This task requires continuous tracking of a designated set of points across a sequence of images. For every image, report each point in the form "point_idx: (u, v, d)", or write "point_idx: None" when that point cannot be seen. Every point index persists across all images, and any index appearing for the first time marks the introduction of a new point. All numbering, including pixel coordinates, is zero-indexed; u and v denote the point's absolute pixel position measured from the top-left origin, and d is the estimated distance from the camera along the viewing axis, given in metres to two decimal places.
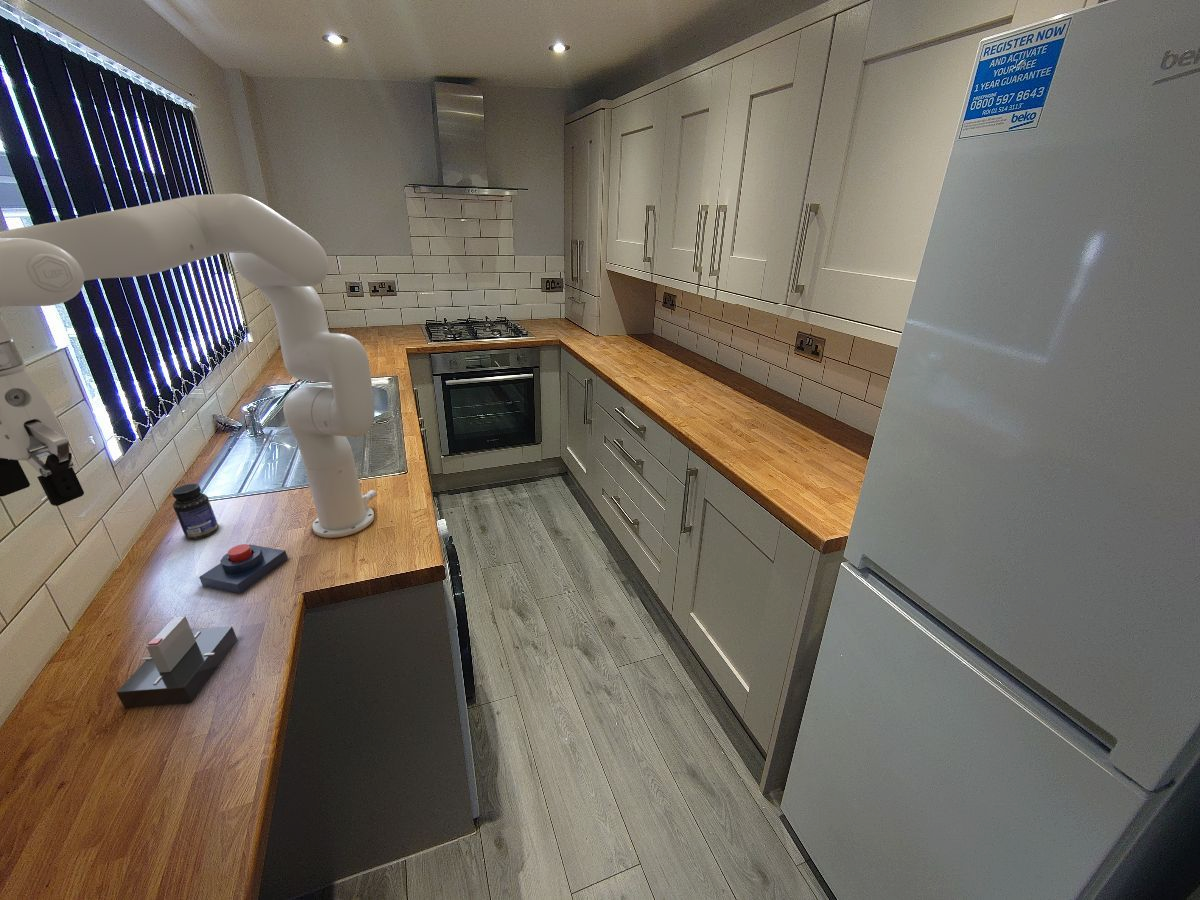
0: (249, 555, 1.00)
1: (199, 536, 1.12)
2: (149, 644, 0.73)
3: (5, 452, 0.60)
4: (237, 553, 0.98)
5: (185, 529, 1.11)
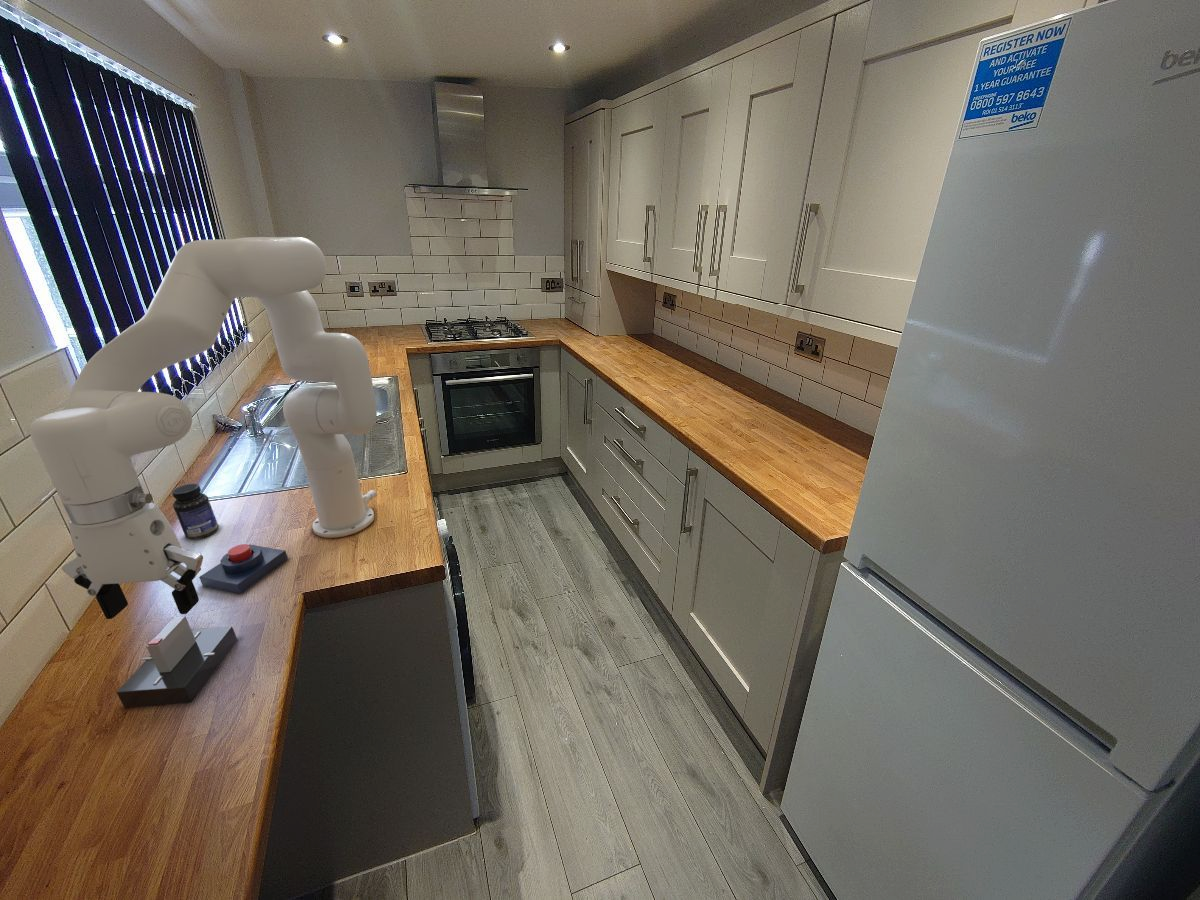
0: (249, 555, 1.00)
1: (199, 536, 1.12)
2: (149, 644, 0.73)
3: (143, 577, 0.69)
4: (237, 553, 0.98)
5: (186, 529, 1.11)
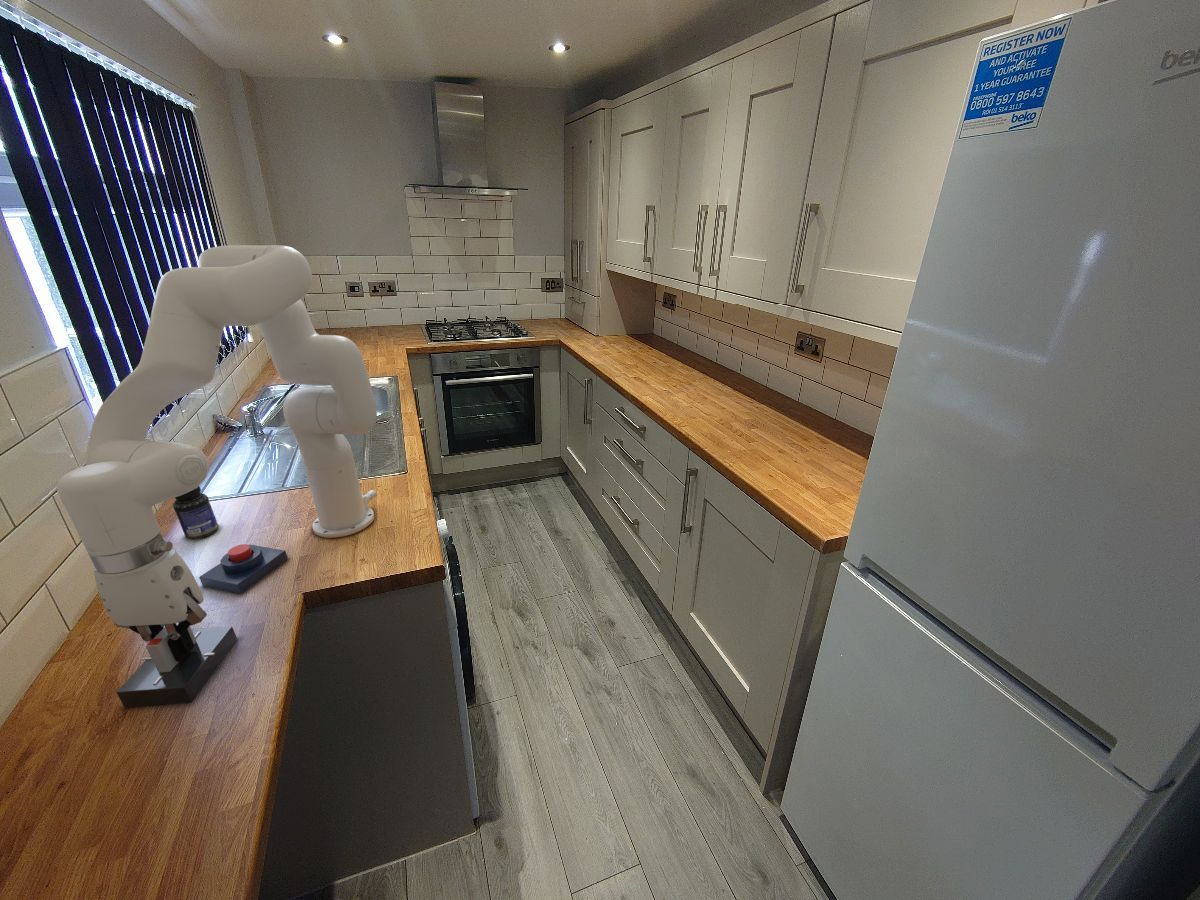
0: (249, 555, 1.00)
1: (199, 536, 1.12)
2: (149, 644, 0.73)
3: (164, 619, 0.73)
4: (237, 553, 0.98)
5: (185, 529, 1.11)
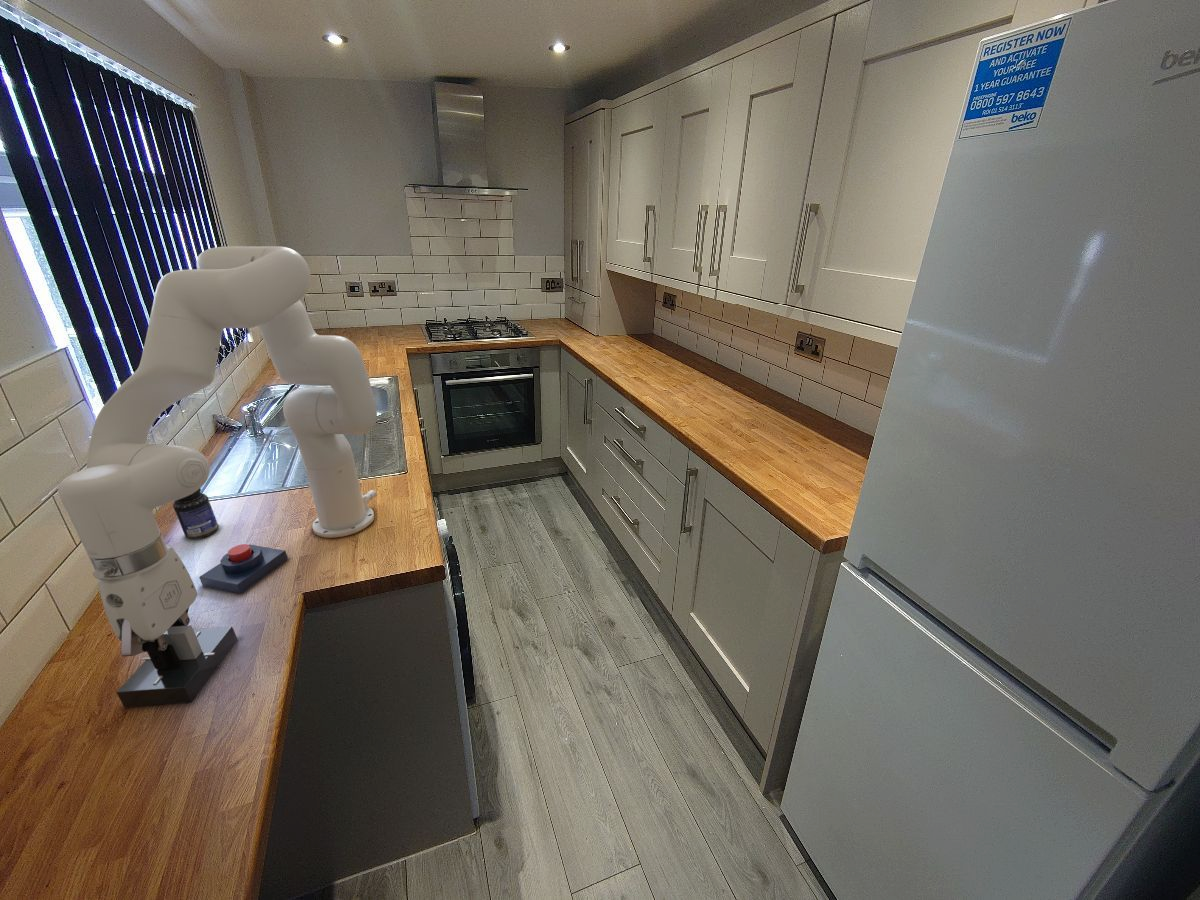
0: (249, 555, 1.00)
1: (199, 536, 1.12)
2: None
3: None
4: (237, 553, 0.98)
5: (185, 529, 1.11)
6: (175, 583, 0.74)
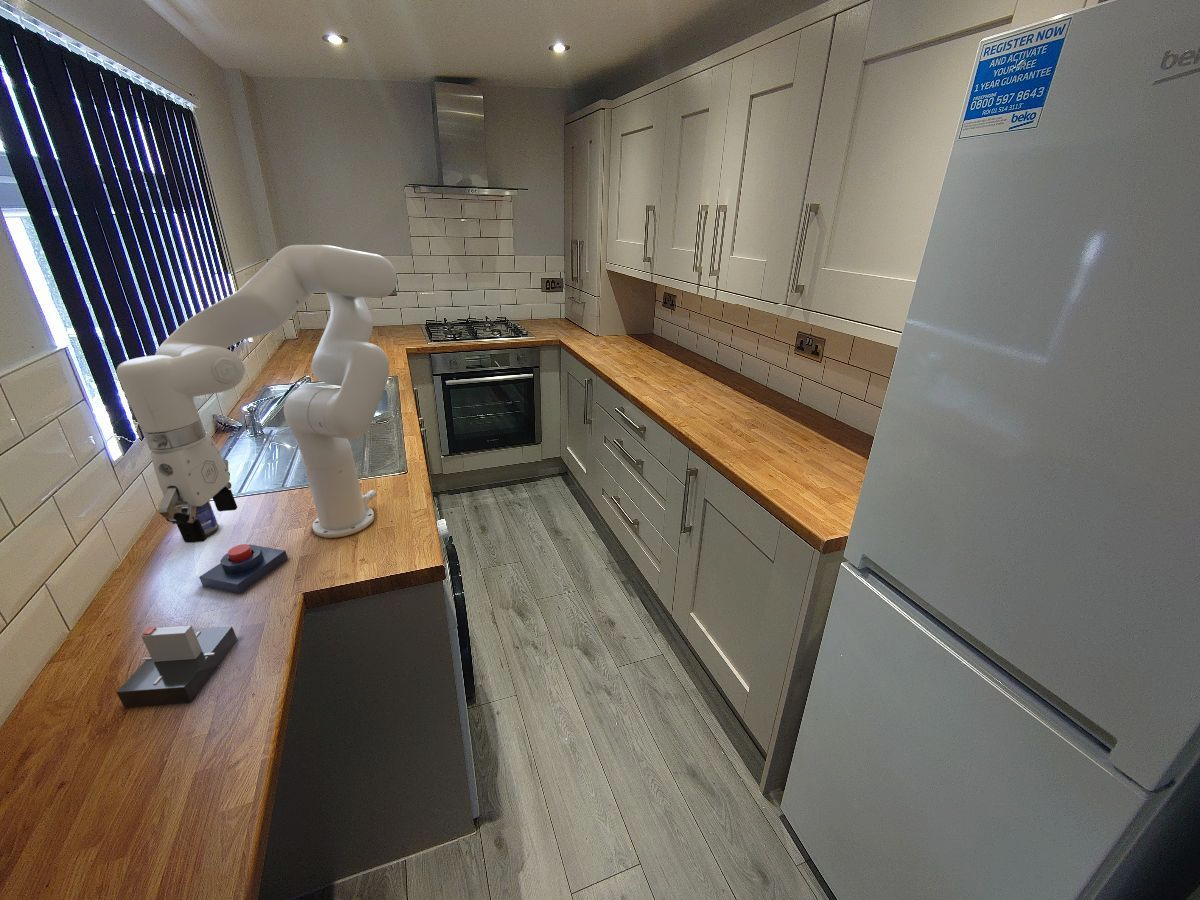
0: (249, 555, 1.00)
1: None
2: (147, 629, 0.76)
3: None
4: (237, 553, 0.98)
5: None
6: (212, 463, 0.87)
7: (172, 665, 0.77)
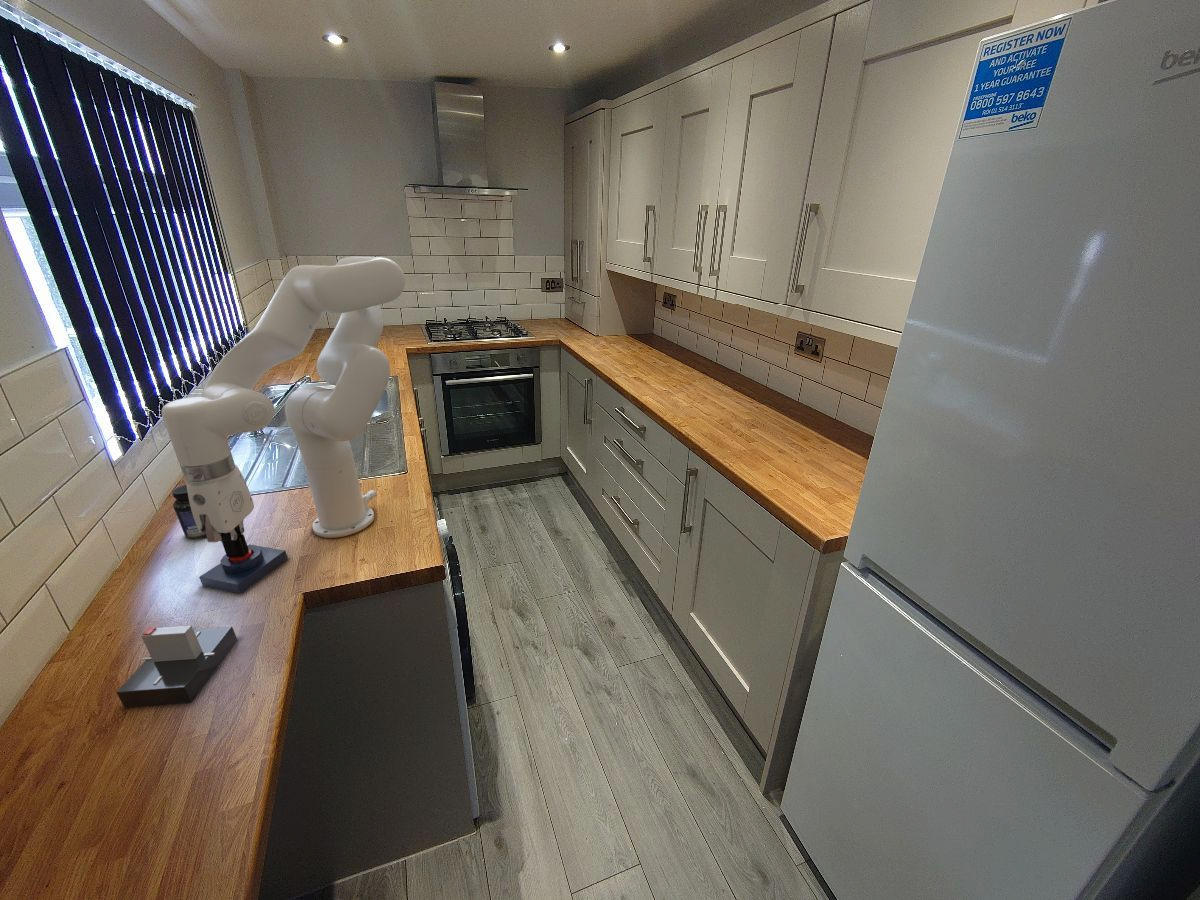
0: None
1: (199, 536, 1.12)
2: (147, 629, 0.76)
3: None
4: (238, 557, 0.99)
5: (185, 529, 1.11)
6: (239, 493, 0.96)
7: (172, 665, 0.77)
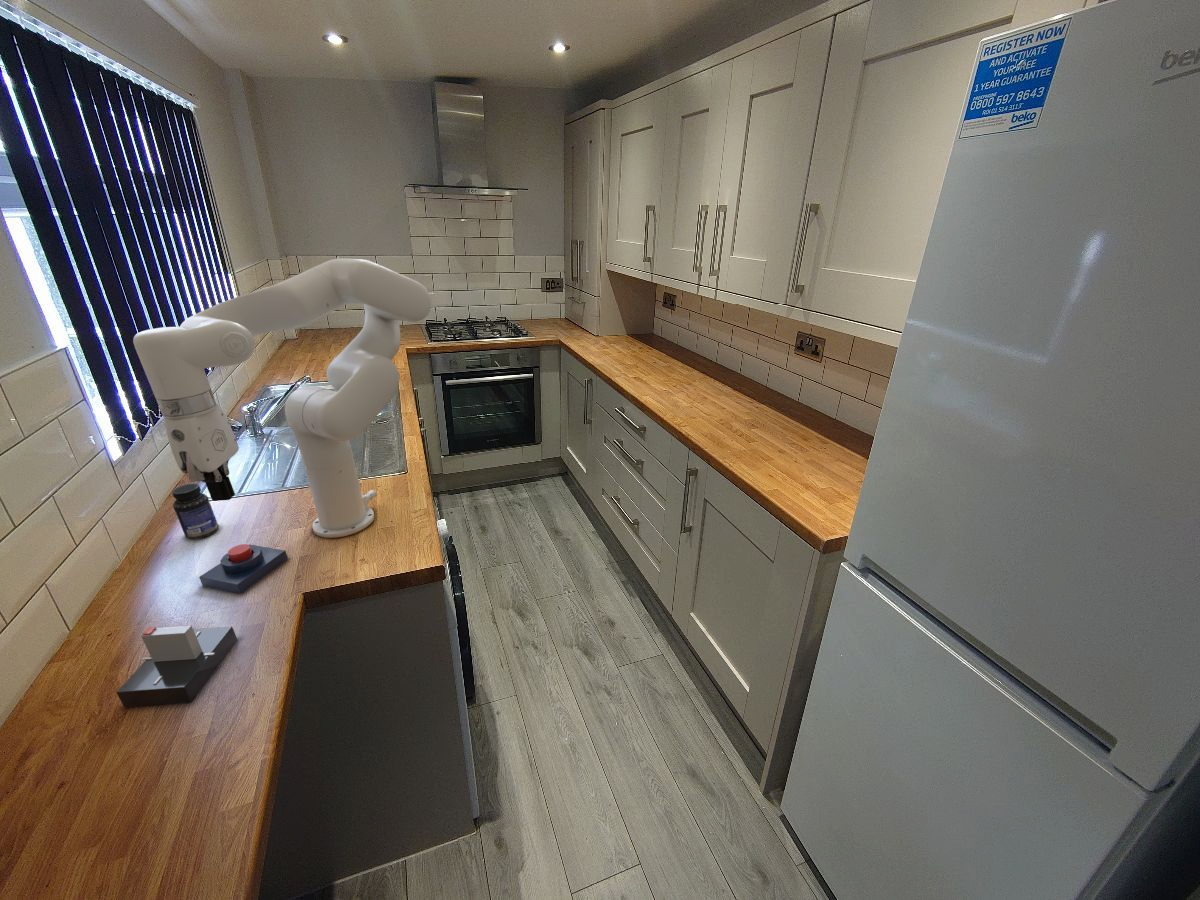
0: (249, 555, 1.00)
1: (199, 536, 1.12)
2: (147, 629, 0.76)
3: None
4: (237, 553, 0.98)
5: (185, 529, 1.11)
6: (222, 432, 0.92)
7: (172, 665, 0.77)
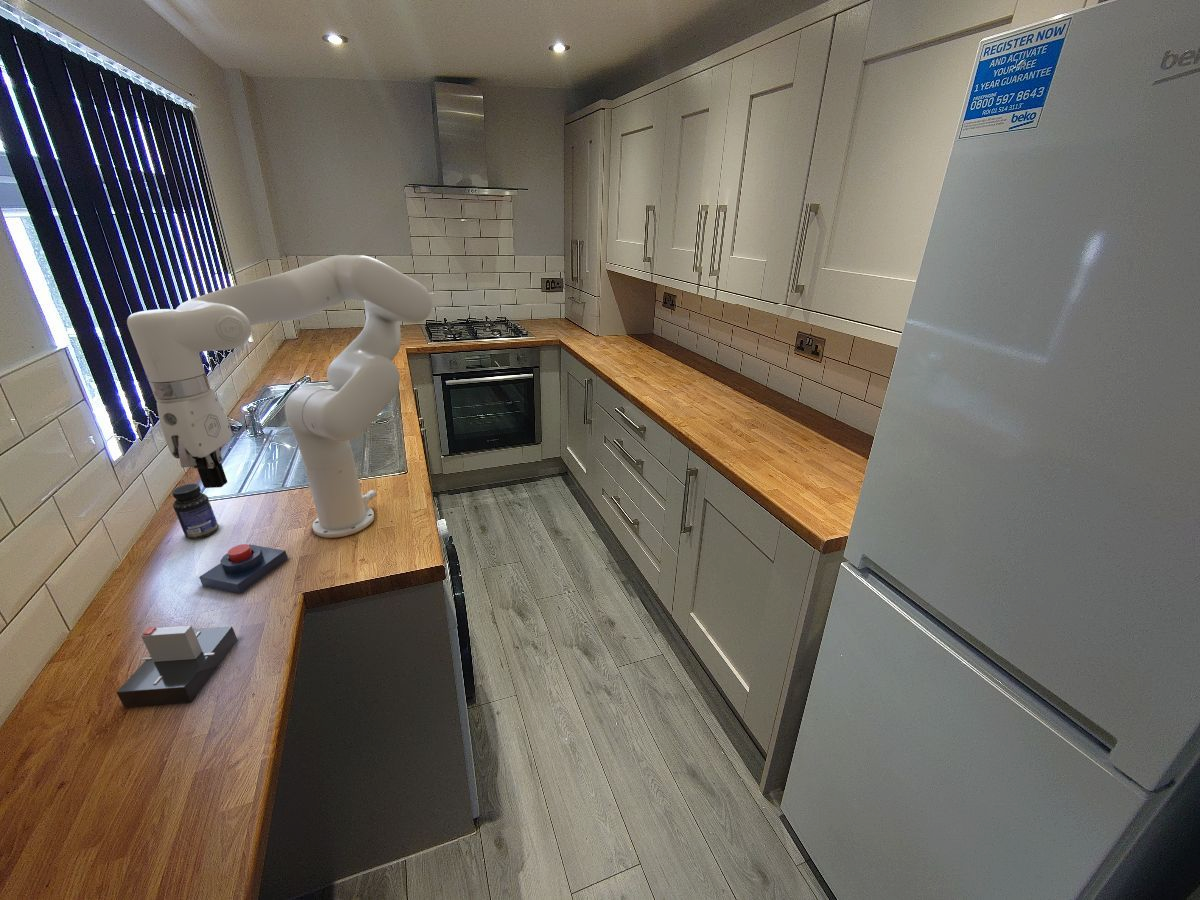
0: (249, 555, 1.00)
1: (199, 536, 1.12)
2: (147, 629, 0.76)
3: None
4: (237, 553, 0.98)
5: (185, 529, 1.11)
6: (215, 418, 0.90)
7: (172, 665, 0.77)
